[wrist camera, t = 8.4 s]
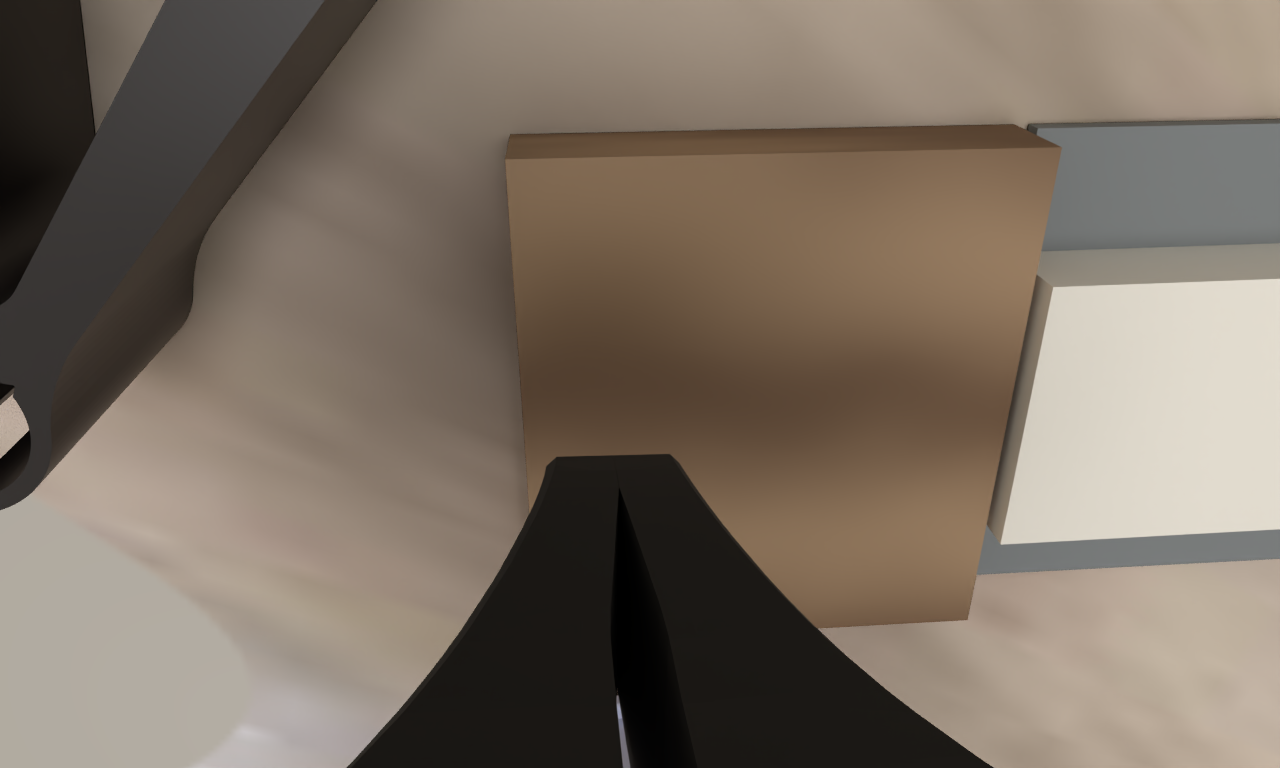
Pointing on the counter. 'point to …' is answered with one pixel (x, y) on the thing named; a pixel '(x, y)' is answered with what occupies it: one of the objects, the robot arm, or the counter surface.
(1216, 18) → the counter surface
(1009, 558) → the mat
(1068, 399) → the cream rectangular tile
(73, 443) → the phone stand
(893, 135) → the brown block
